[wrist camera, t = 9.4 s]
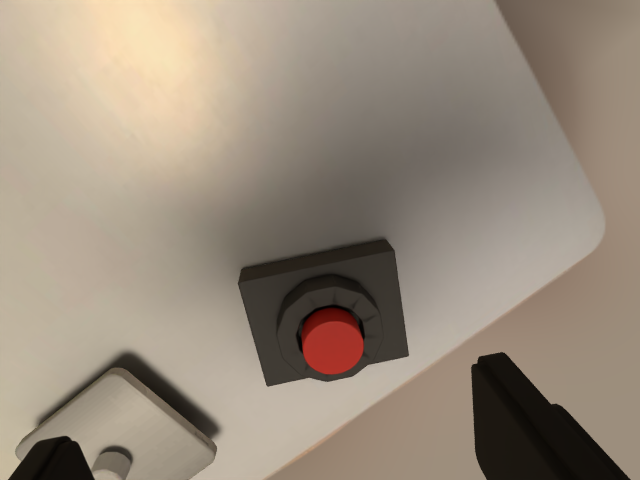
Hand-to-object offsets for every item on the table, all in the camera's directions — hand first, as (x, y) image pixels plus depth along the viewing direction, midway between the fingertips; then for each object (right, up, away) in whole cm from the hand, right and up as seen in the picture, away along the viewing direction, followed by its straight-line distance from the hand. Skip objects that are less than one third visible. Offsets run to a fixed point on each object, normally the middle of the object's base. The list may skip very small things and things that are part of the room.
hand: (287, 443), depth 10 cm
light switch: (-13, -9, +21) cm, 27 cm away
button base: (+1, 0, +19) cm, 19 cm away
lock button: (+1, -1, +16) cm, 16 cm away
